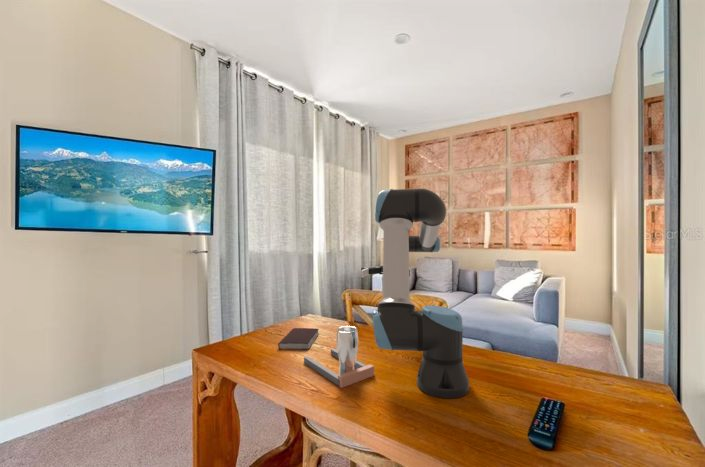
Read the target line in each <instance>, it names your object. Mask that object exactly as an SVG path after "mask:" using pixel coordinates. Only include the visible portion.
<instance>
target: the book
mask: <svg viewBox="0 0 705 467" xmlns="http://www.w3.org/2000/svg"><path fill="white" fill-rule="evenodd" d="M319 334H320V333H319V328H314V327H313V328H311V327H306V328H305V327H295V328H294V327H293V328H291V330H289V332H288V333H287V334H286V335H285V336H284V337H283V338H282V339H281V340H280V341H279V342H278V343H277V344H278V345H277V346H278V349H279V350H280V349H281V350H282V349H283V350H300V351H303V350H305V351H306V350H307V351H308V350H310V349H311V347H312V345H313V344H314V342H315V341H316V339H317V338H318V336H319Z"/></svg>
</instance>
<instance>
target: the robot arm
mask: <svg viewBox="0 0 705 467" xmlns="http://www.w3.org/2000/svg"><path fill="white" fill-rule="evenodd" d="M446 215H447V208H446V205H445V202H444V201H443V199H442V197H440V196H439V195H438V194H437V193H435V192H433V191H432V190H429V189H428V188H427V189H426V188H403V189H402V188H401V189H400V188H398V189H394V188H391V189H383V190H380V191H379V193H378V194H377V197H376V203H375V214H374V217H375V222H376V223H378V224H379V228H380V229H381V230H382V231H383V242H382V243H383V244H382V245H383V247H382V251H383V253H382V254H383V255H382V265H379V266H378V265H374V266H366V267H361V269H360V275H361V276H360V278H365V277H368V276H369V275H377V274H378V275H382V299H381V300H380V301H379V302H378V303H377V308H376V309H374V310H373V311H372V326H373V333H374V339H375V344H376V346H377V347H378V348H379V349H381V350H391V351H405V352H406V351H412V352H422V359H421V362H420V366H419V369H418V372H417V375H416V384H417V387H418V388H419V390H421V391H422V392H423V393H425V394H427V395H430V396H433V397H436V398H440V399H457V398H461V397H464V396H465V395H467V394H468V393H469V392H470V380H469V378H468V376H467V371H466V368H465V366H464V361H463V359H464V357H463V355H464V353H463V351H464V350H463V349H464V348H463V347H464V346H463V342H464V341H463V339H464V338H463V336H464V335H463V331H464V327H463V318H462V315H461V314H460V312H458V311H456V310H455V309H452V308H448V307H445V306H440V305H424V306H422V307H421V311H420V310H416V308H415V307H416V306H415V303H413V302H412V301H411V298H410V297H411V296H410V295H411V293H410V276H411V270H410V253H438V252H439V251H440V249H441V238H440V236H438V235H439V231H440V227H441V224H442V223H444V221H445V219H446ZM415 222H416V223H418V222H419V223H420V225H419V226H420V228H419V235H409V231H410V230H411V229H412V228H413V226H414V223H415Z"/></svg>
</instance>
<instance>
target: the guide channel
mask: <svg viewBox="0 0 705 467" xmlns="http://www.w3.org/2000/svg"><path fill="white" fill-rule="evenodd" d="M330 355H331V356H332V357H334V358H336V359H338V360H339V356H338V351H337V348H331V349H330ZM303 363H304V364H305V365H306V366H308V367H309V368H311V369H312V370H314V371H316V372H317V373H319V374H320V375H322V376H323V377H325V378H326V379H328V380H329V381H331V382H332V383H333V384H335V385H336V386H338V387H340V388H341V389H342V388H345V387H348V386H350V385H351V386H352V385H354V384H356V383H358V382H359V383H360V381H363V380H366V379H369V378H371V377H373V376H374V377H375V366H374V365H373V364H371V363H370V364H365V363H363V362H361V361H359V360H358V359H356V369H355V370H352V371H350V372H347V373H344V374H341V375H339V374H338V373H336V372H334V371H332V370H330V369H329V368H327V366H324V365H322V364H321V363H319V362H318V361H316V360H314V359H313V358H311V357H310V356H304V357H303Z"/></svg>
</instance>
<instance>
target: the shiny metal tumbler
mask: <svg viewBox="0 0 705 467" xmlns="http://www.w3.org/2000/svg"><path fill="white" fill-rule="evenodd" d="M358 348H359V334H358V328H357V327H355V326H352V325H351V326H350V325H349V326H348V325H346V326H345V325H343V326H340V327H338V328H337V330H336V350H337V351H338V356H339V359H338V361H339V362H338V363H339V368H338V375H341V374H344V373H347V372H350V371H352V370H355V369H356V360H357V358H358V357H357V356H358Z"/></svg>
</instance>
